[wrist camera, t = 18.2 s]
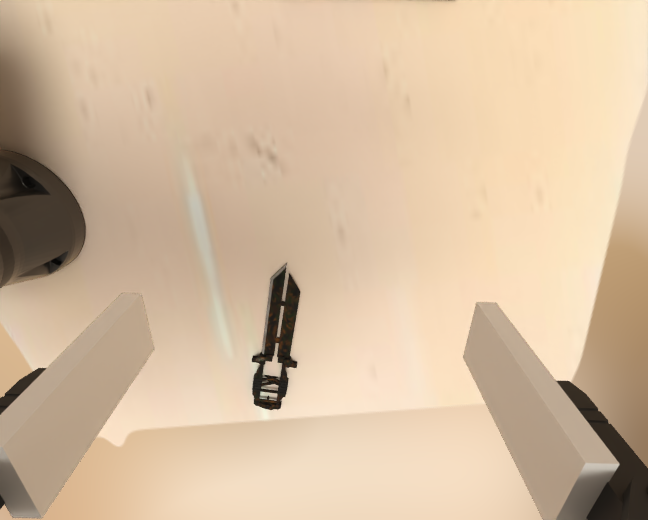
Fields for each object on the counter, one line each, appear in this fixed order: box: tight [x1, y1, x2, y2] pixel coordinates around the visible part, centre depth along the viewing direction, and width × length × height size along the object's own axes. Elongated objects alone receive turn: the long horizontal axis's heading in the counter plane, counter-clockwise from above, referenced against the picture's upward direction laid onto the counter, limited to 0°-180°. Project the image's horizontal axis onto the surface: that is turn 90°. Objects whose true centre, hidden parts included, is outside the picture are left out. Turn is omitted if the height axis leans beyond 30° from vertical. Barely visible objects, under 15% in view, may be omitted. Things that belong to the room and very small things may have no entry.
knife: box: [252, 263, 300, 410], centre depth 51 cm, size 25×6×1 cm, turn 165°
